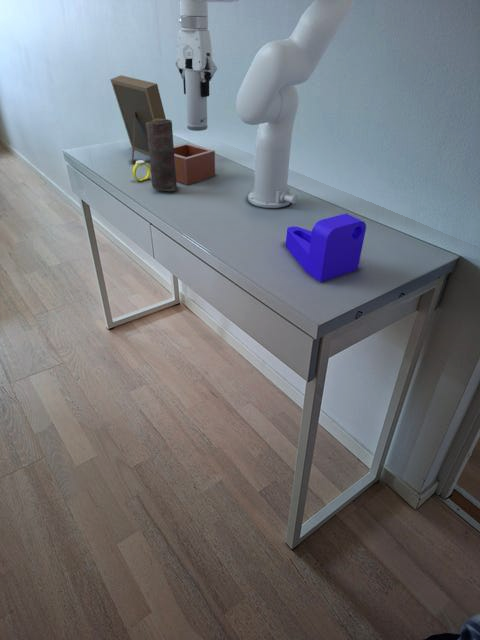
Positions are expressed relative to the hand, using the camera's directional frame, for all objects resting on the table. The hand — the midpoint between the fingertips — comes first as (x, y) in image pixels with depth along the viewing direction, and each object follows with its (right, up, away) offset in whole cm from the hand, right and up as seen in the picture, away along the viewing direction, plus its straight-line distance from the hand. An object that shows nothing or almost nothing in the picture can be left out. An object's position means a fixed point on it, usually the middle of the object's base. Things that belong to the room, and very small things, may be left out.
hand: (196, 94), depth 136 cm
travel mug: (0, -8, +6) cm, 10 cm away
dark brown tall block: (-10, -28, +2) cm, 30 cm away
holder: (-4, -20, +13) cm, 24 cm away
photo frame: (-23, -9, +29) cm, 38 cm away
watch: (-18, -23, +8) cm, 31 cm away
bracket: (+30, -54, -32) cm, 69 cm away
